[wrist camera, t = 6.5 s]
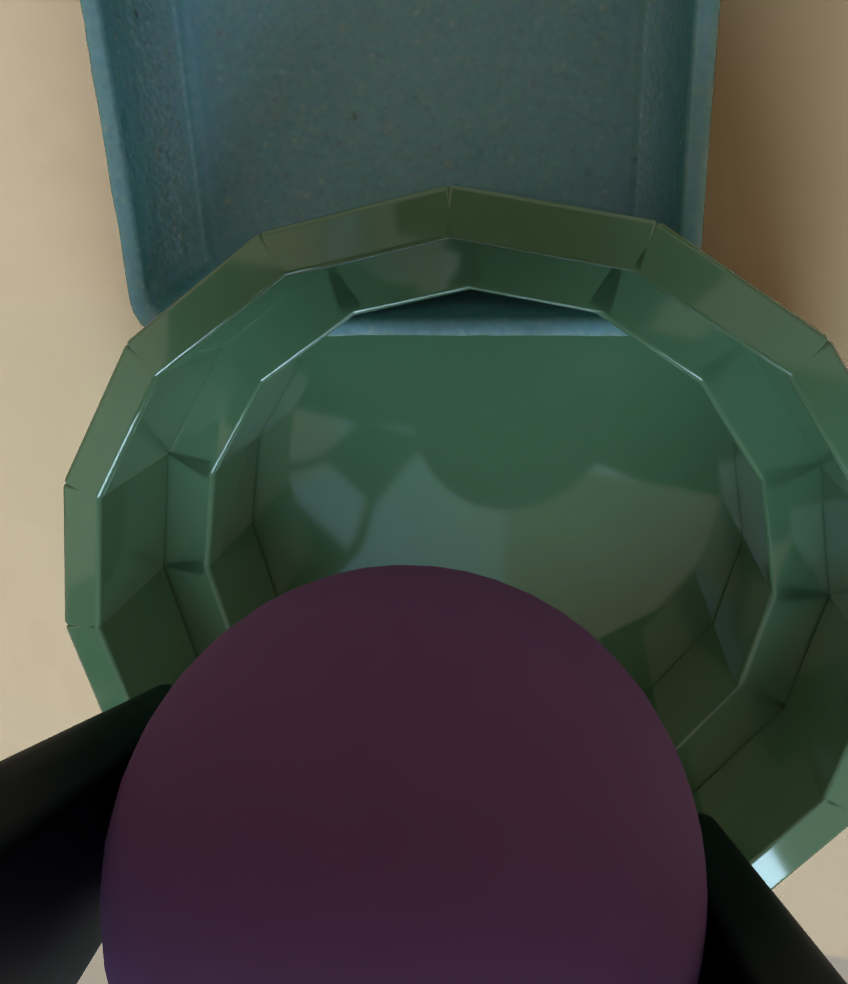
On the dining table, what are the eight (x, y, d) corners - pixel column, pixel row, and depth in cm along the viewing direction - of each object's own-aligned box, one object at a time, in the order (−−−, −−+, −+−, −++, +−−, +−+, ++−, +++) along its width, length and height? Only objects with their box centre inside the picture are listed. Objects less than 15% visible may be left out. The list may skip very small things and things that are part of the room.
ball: (604, 893, 11) (640, 1497, 6) (226, 798, 12) (-39, 1280, 6) (724, 541, 9) (941, 1003, 4) (258, 443, 10) (-95, 737, 4)
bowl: (703, 819, 18) (753, 1040, 13) (187, 693, 19) (66, 856, 14) (918, 262, 13) (1112, 300, 8) (220, 139, 14) (56, 113, 10)
